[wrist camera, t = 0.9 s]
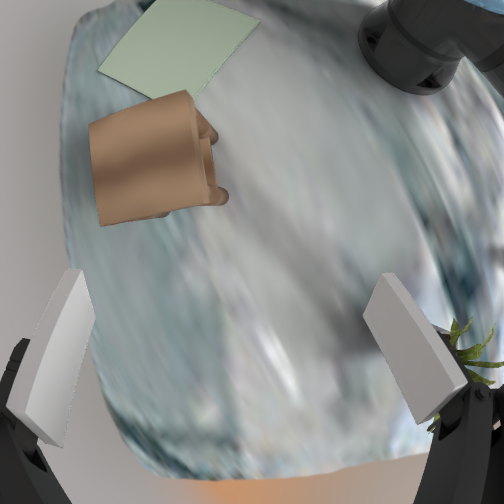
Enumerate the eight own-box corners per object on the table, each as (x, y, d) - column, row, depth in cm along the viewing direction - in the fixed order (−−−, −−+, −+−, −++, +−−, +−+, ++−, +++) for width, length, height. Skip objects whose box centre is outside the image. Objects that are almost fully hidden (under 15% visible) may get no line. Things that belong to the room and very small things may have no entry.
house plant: (452, 267, 35) (527, 300, 19) (466, 342, 36) (522, 391, 20) (370, 313, 37) (419, 375, 21) (393, 385, 38) (432, 455, 22)
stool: (145, 146, 36) (88, 124, 22) (216, 127, 35) (185, 89, 21) (156, 218, 37) (100, 226, 24) (230, 203, 36) (203, 202, 23)
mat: (169, -10, 31) (167, -11, 31) (260, 22, 32) (260, 20, 31) (99, 71, 34) (97, 70, 34) (182, 116, 35) (180, 115, 34)
